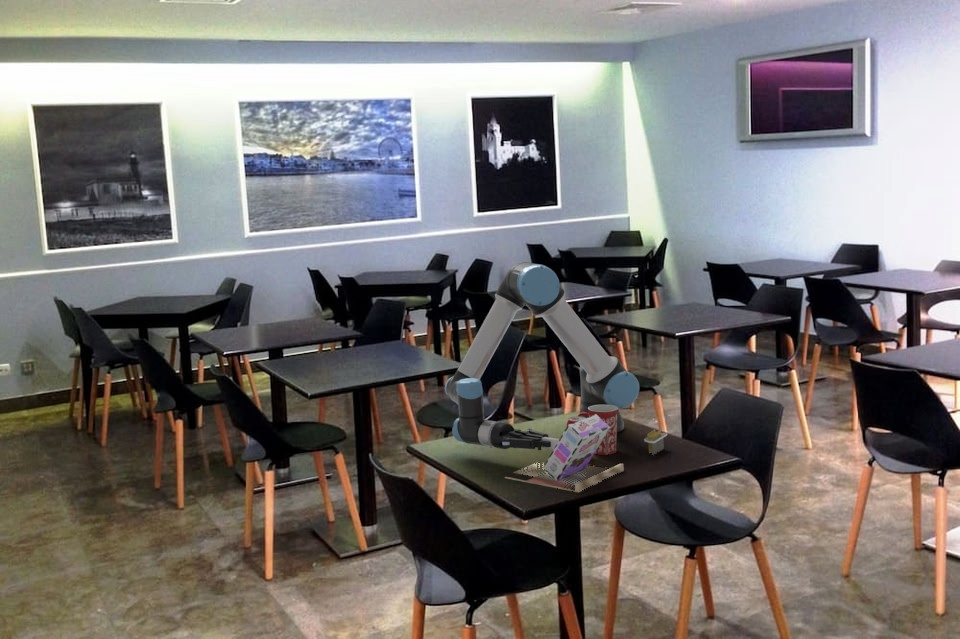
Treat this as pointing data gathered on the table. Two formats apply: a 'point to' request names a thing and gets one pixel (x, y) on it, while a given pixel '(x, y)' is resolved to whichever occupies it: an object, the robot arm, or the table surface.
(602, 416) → the mug
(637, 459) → the table surface
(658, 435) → the grey rectangular container
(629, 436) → the table surface
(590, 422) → the candy box
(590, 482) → the wooden picture frame
